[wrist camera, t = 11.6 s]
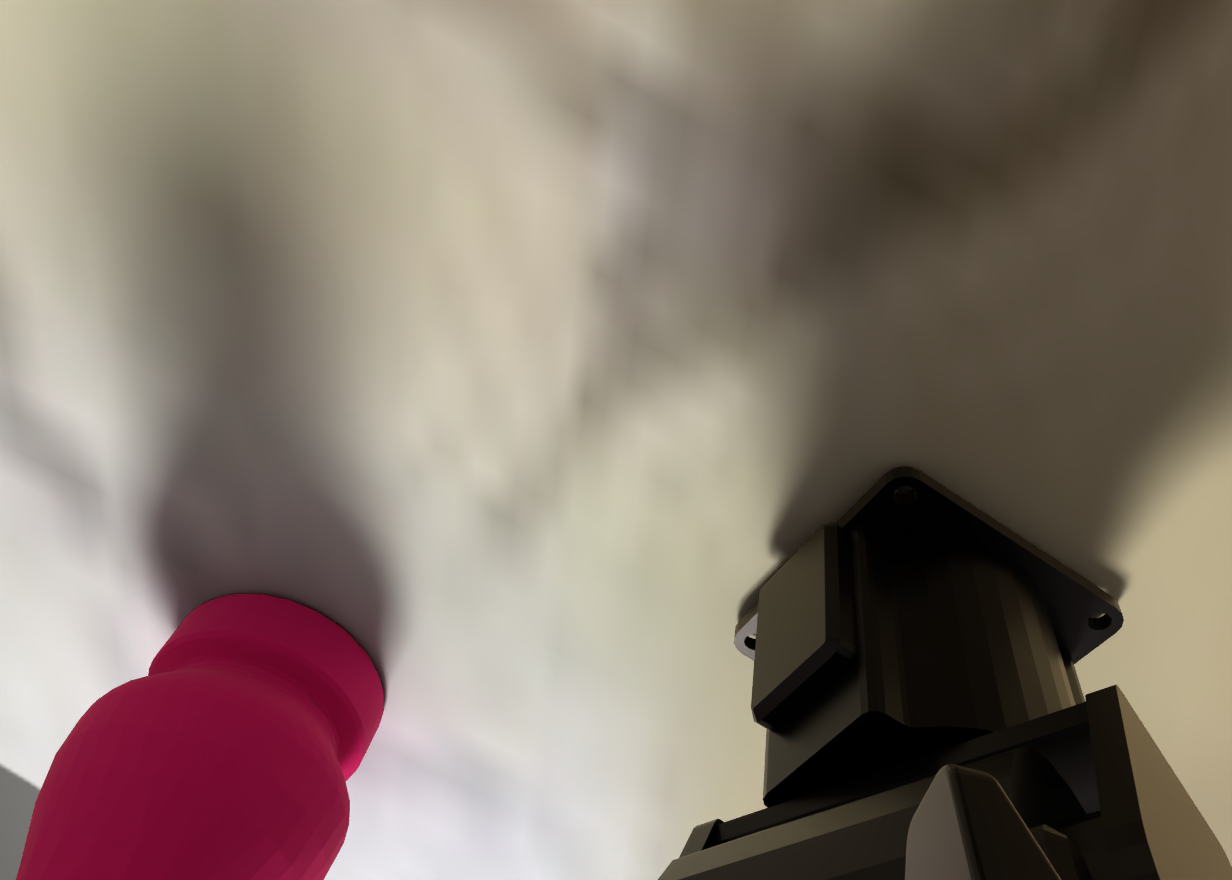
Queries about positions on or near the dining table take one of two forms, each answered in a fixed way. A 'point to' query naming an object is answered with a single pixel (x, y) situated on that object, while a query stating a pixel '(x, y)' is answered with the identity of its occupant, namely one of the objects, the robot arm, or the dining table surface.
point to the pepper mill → (215, 755)
